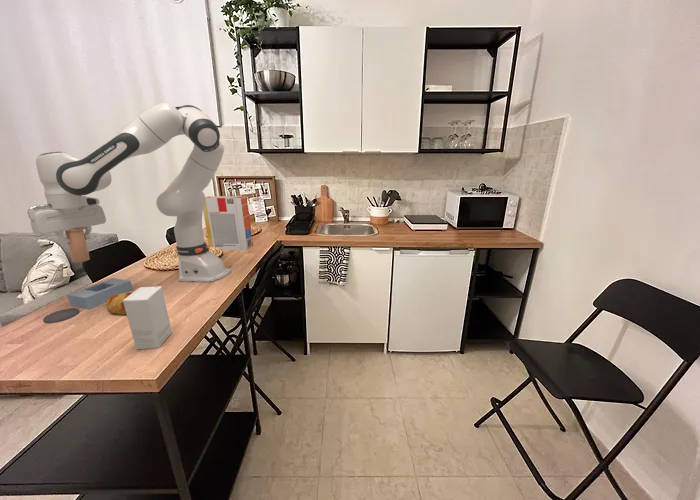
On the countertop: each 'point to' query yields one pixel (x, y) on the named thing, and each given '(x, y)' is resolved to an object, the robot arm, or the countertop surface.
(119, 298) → the croissant
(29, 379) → the countertop surface
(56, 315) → the mat
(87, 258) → the orange-brown cylinder
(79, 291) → the pocket block
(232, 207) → the pasta box
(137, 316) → the skincare box
